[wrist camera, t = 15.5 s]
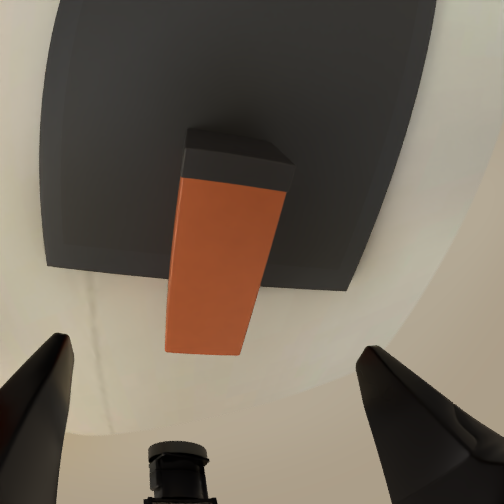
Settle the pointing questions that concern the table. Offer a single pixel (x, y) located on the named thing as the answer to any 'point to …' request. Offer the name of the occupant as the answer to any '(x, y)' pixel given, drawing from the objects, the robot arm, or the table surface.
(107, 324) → the table surface
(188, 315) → the orange box
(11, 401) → the robot arm
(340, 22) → the dark grey flat panel
